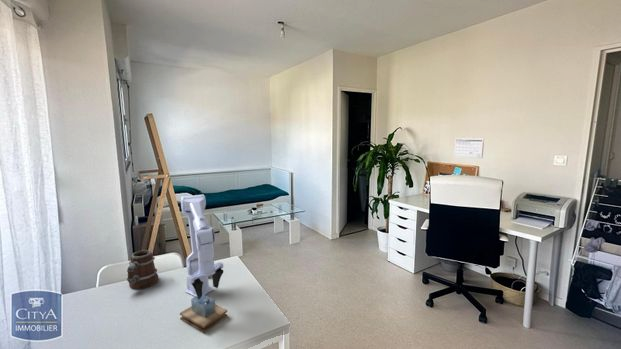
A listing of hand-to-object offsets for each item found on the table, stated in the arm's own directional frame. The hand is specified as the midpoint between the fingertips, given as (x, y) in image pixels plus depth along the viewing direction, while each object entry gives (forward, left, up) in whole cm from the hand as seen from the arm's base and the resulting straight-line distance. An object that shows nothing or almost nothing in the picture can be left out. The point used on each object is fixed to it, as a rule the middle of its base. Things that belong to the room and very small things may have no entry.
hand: (207, 291), depth 110 cm
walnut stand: (+1, -3, -9) cm, 10 cm away
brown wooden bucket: (-44, -3, -10) cm, 46 cm away
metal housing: (+1, -3, -7) cm, 7 cm away
